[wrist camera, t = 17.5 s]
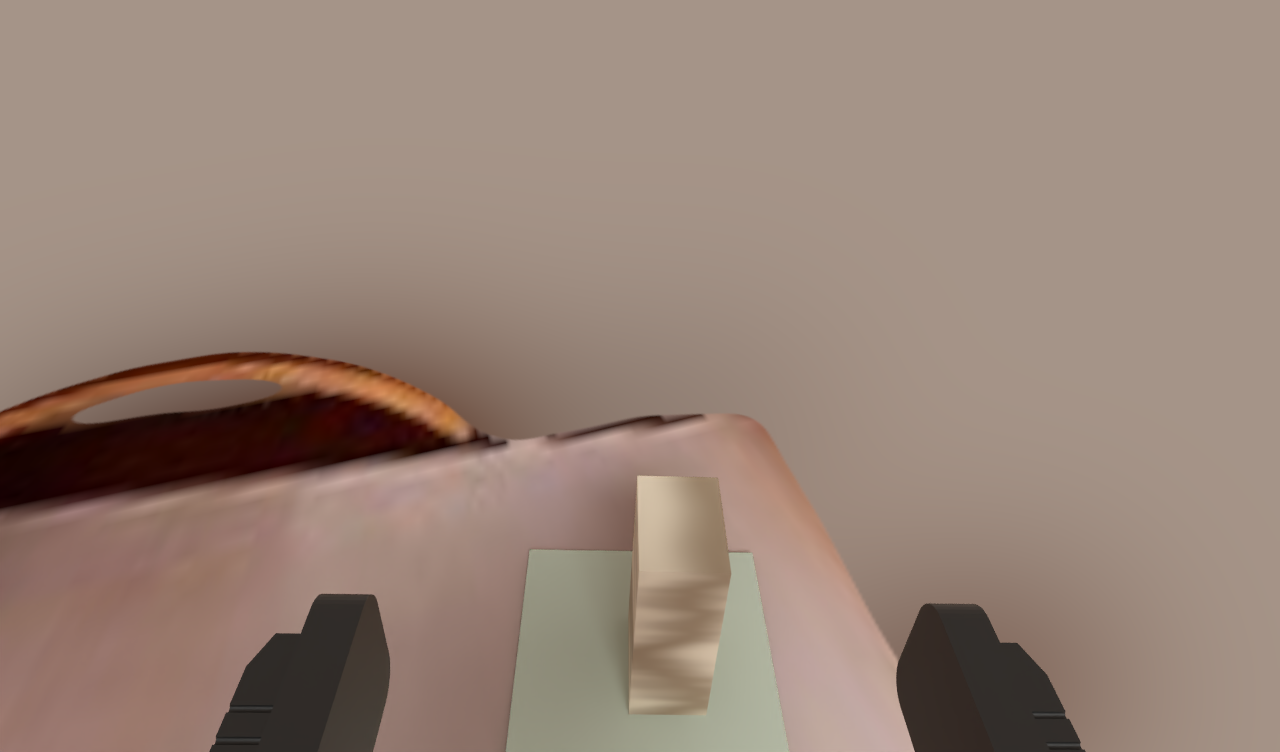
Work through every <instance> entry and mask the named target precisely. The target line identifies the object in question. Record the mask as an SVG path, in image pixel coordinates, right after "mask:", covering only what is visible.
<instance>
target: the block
mask: <svg viewBox="0 0 1280 752" xmlns="http://www.w3.org/2000/svg"><path fill="white" fill-rule="evenodd" d="M730 578H731V567H730V560H729V553H728V546H727V538H726V531H725V524H724V517H723V510H722V503H721V496H720V489H719V482H718V478H708V477H670V476H637V488H636V504H635V519H634V535H633V550H632V566H631V581H630V597H629V612H628V698H629V714H644V715H706V714H707V708H708V702H709V697H710V691H711V685H712V680H713V674H714V669H715V663H716V657H717V652H718V646H719V640H720V635H721V629H722V624H723V618H724V612H725V607H726V601H727V595H728V590H729V584H730Z"/></svg>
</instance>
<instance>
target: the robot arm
mask: <svg viewBox="0 0 1280 752" xmlns="http://www.w3.org/2000/svg"><path fill="white" fill-rule="evenodd" d="M389 679H390V657H389V652H388V647H387V643H386V638H385V634H384V630H383V625H382V621H381V616H380V612H379V607H378V603H377V600H376V597H375V596H374V595H364V594H320V595H319V596H317V598H316V599H315V600H314V602H313V604H312V606H311V609H310V611H309V614H308V616H307V619H306V622H305V624H304V627H303V630H302V632H301V634H280V633H276V634H275V635H274V636H273V637H272V638H271V639H270V641H269V642H268V643H267V644H266V645H265V646H264V647H263V648H262V649H261V651H260V652H259V653H258V654H257V655H256V656H255V657H254V658H253V659H252V661H251V662H250V663H249V664H248V665H247V666H246V668H245V670H244V673H243V675H242V677H241V680H240V682H239V684H238V687H237V689H236V691H235V694H234V696H233V698H232V701H231V703H230V710H229V712H228V713H226V714H225V717H224V719H223V721H222V724H221V726H220V728H219V731H218V733H217V735H216V742H215V744H214V745H212V747H211V749H210V752H373V749H374V745H375V742H376V738H377V734H378V730H379V726H380V722H381V718H382V714H383V710H384V707H385V703H386V698H387V693H388V687H389ZM896 682H897V693H898V698H899V703H900V706H901V710H902V713H903V716H904V719H905V722H906V725H907V728H908V731H909V734H910V738H911V741H912V744H913V747H914V750H915V752H1085V750H1082V749H1081V747H1080V740H1079V738H1078V736H1077V734H1076V732H1075V730H1074V728H1073V726H1072V724H1071V722H1070V720H1069V719H1066V717H1065V710H1064V708H1063V706H1062V704H1061V702H1060V700H1059V698H1058V696H1057V694H1056V692H1055V690H1054V688H1053V686H1052V684H1051V682H1050V680H1049V678H1048V676H1047V674H1046V673H1045V672H1044V671H1043V670H1042V669H1041V668H1040V667H1039V666H1038V665H1037V664H1036V663H1035V662H1034V660H1032V658H1031V657H1030V656H1029V655H1028V654H1027V653H1026V652H1025V651H1024V650H1023V649H1022V648H1021V647H1020V645H1018V643H1000V642H999V640H998V638H997V635H996V633H995V631H994V629H993V627H992V625H991V623H990V620H989V618H988V617H987V615H986V613H985V612H984V610H983V609H982V608H981V607H980V606H978V605H976V604H925V605H923V606H922V607H921V609H920V611H919V614H918V616H917V618H916V621H915V623H914V626H913V628H912V630H911V633H910V635H909V637H908V640H907V642H906V645H905V647H904V650H903V652H902V654H901V657H900V659H899V662H898V666H897V675H896Z"/></svg>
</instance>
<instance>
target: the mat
mask: <svg viewBox="0 0 1280 752" xmlns="http://www.w3.org/2000/svg"><path fill="white" fill-rule="evenodd" d="M728 553H729V560H730V567H731V578H730V584H729V590H728V595H727V601H726V607H725V612H724V618H723V624H722V629H721V635H720V640H719V646H718V652H717V657H716V663H715V669H714V674H713V680H712V685H711V691H710V697H709V702H708V708H707V714H706V715H644V714H629V698H628V612H629V597H630V581H631V566H632V551H600V550H533V549H530V550H529V559H528V567H527V576H526V584H525V592H524V601H523V609H522V618H521V626H520V635H519V643H518V651H517V660H516V668H515V677H514V685H513V693H512V702H511V710H510V719H509V727H508V735H507V744H506V752H789V749H788V743H787V738H786V732H785V727H784V722H783V716H782V711H781V705H780V700H779V695H778V689H777V684H776V678H775V673H774V668H773V662H772V657H771V651H770V646H769V641H768V635H767V630H766V625H765V619H764V614H763V608H762V603H761V598H760V592H759V587H758V581H757V576H756V571H755V565H754V560H753V554H752V553H735V552H728Z"/></svg>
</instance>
